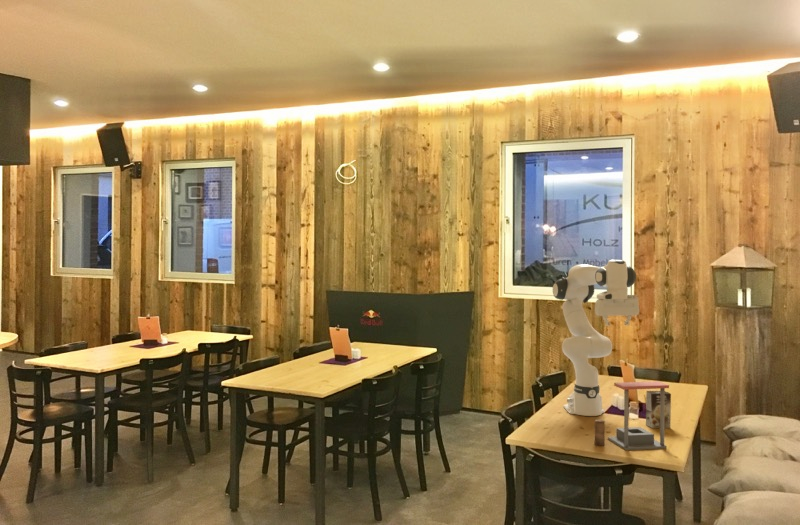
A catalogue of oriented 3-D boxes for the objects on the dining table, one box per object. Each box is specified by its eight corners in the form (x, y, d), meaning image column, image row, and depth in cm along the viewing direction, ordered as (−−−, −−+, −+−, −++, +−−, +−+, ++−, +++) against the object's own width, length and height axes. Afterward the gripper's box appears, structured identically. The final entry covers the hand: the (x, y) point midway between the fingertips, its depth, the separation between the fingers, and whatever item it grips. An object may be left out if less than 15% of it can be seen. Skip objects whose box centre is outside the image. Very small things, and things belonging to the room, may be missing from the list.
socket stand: (605, 439, 266) (605, 379, 266) (648, 437, 269) (648, 377, 269) (623, 450, 251) (623, 386, 250) (668, 448, 254) (669, 385, 253)
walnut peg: (592, 443, 260) (592, 419, 260) (601, 442, 261) (601, 419, 261) (597, 446, 257) (597, 422, 256) (606, 445, 257) (606, 422, 257)
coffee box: (651, 428, 283) (651, 393, 283) (645, 424, 289) (645, 390, 289) (671, 428, 283) (671, 393, 283) (664, 424, 290) (664, 390, 289)
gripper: (634, 294, 284) (634, 324, 285) (593, 294, 281) (593, 324, 282) (642, 295, 278) (642, 325, 278) (599, 295, 275) (599, 326, 275)
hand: (617, 325), depth 280 cm, fingers open, 8 cm apart
